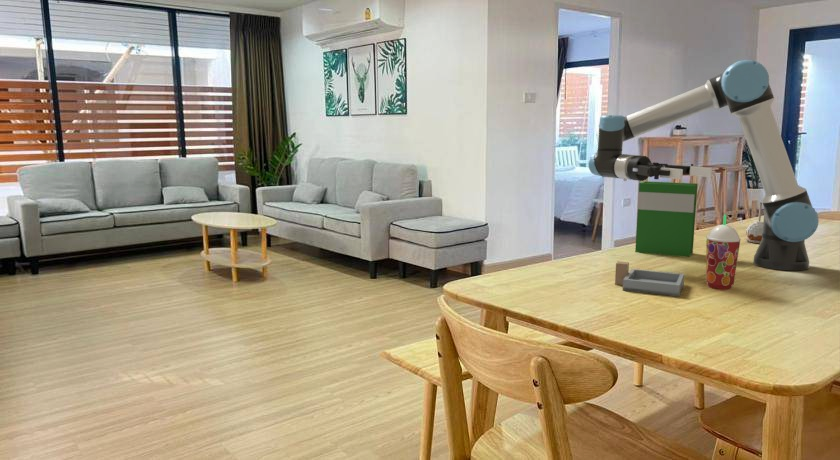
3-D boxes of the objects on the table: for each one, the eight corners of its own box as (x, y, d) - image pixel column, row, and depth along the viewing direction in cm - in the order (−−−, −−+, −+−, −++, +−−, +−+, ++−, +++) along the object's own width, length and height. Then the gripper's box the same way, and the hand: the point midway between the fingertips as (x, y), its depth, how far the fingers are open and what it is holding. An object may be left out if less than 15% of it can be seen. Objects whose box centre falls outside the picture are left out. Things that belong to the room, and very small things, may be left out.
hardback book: (692, 253, 220) (697, 183, 216) (690, 257, 213) (695, 185, 209) (639, 248, 228) (643, 181, 224) (635, 252, 222) (639, 183, 218)
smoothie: (734, 285, 177) (740, 213, 174) (738, 292, 169) (744, 217, 166) (701, 282, 180) (706, 212, 176) (704, 289, 172) (709, 216, 169)
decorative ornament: (765, 240, 242) (769, 201, 240) (771, 244, 235) (775, 204, 232) (743, 240, 244) (746, 201, 242) (748, 243, 237) (752, 203, 234)
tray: (683, 284, 178) (685, 263, 177) (678, 296, 165) (680, 274, 164) (620, 277, 185) (621, 257, 184) (611, 289, 173) (612, 267, 172)
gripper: (658, 178, 202) (721, 185, 185) (605, 181, 189) (667, 189, 171) (660, 154, 201) (724, 159, 183) (606, 155, 187) (669, 160, 170)
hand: (696, 173), depth 177 cm, fingers open, 13 cm apart
